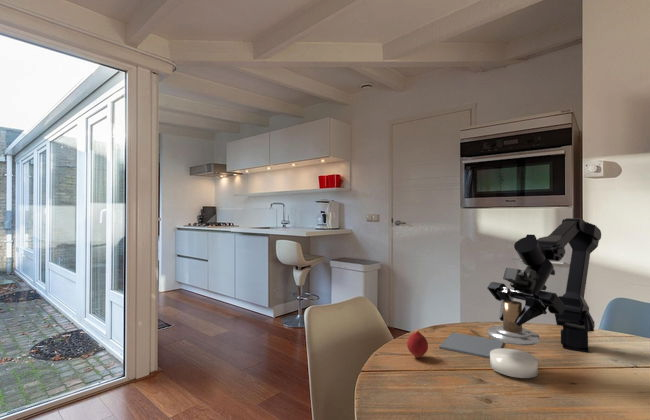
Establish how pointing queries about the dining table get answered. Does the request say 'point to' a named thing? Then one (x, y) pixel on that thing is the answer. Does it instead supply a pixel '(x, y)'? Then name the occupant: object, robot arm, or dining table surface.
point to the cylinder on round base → (512, 327)
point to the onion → (417, 344)
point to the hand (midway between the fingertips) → (508, 322)
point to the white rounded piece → (514, 363)
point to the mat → (471, 344)
